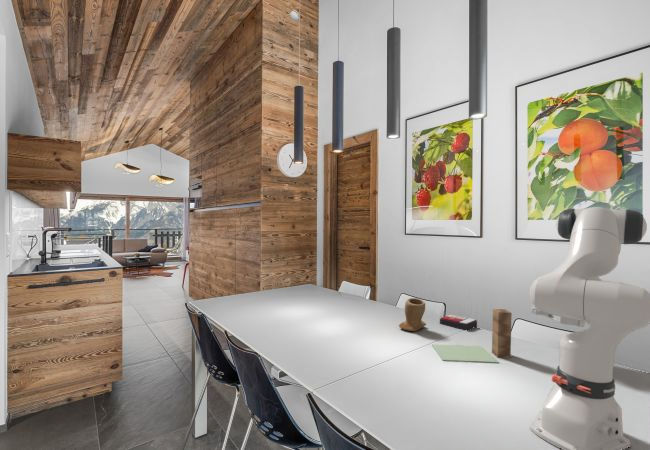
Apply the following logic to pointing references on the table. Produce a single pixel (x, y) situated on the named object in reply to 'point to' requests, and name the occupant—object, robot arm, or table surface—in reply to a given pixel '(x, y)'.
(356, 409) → the table surface
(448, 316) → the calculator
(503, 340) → the walnut pillar
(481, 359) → the mat
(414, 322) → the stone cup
